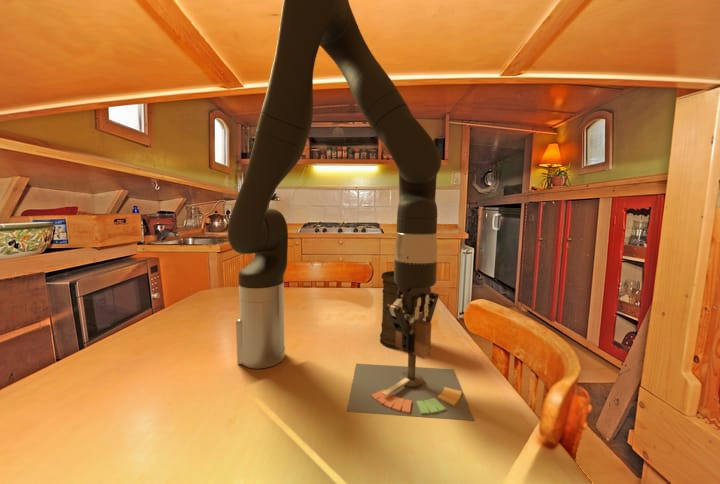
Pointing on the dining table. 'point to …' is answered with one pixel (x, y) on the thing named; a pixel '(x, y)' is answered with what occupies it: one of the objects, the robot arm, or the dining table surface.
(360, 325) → the dining table surface
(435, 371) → the dial board
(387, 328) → the container
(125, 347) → the dining table surface
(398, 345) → the peg knob
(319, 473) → the dining table surface
